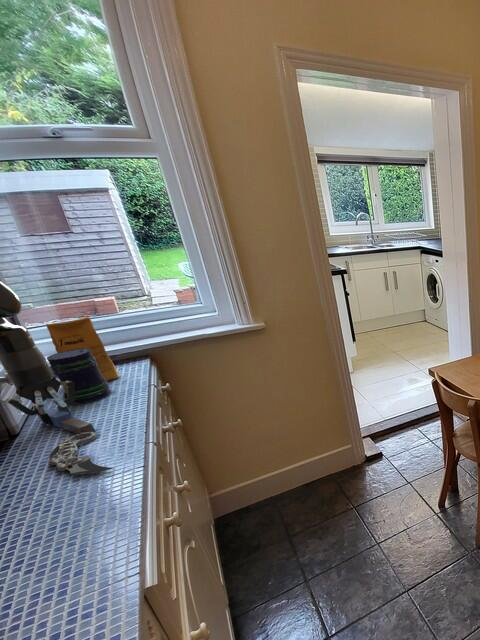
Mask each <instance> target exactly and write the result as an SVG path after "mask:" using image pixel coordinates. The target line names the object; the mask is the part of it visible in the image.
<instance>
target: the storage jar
mask: <svg viewBox="0 0 480 640" xmlns="http://www.w3.org/2000/svg"><path fill="white" fill-rule="evenodd" d="M46 361H47V362H49V363H48V365H49V366H50V369H51V371H52V372H53V374H54V376H55V377H57V379H58V380H59V381H71V382H74V383H75V387H74V401H73V402H70V404H72V405H83V404H88V403H93V402H96V401H99V400H101V399H104V398H106V397H109V396H110V395H112V391H111V389H110V387H109V383H108V381H107V382H106V379H105V378H104V377H103V376H102V375H101V373H100V371H99V369H98V363H97V362H96V359H95V357H94V356H93V354H92V353H91V350H90V349H87V348H83V349H74V350H69V351H64V352H60V353H57V352H56V353H53V354H50V355H48V356H46ZM62 390H63V391H64V388H62Z"/></svg>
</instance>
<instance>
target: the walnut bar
mask: <svg viewBox="0 0 480 640" xmlns="http://www.w3.org/2000/svg"><path fill="white" fill-rule="evenodd" d="M61 423H62V425H63V427H62V428H64V430H65V431H68V432H71V433H74V434H79V433H84V432H94V433H95V432H96V430H95V428H94V426H93V425H92V423H91V422H89V421H84V420H81V419H78V418H75V417H72V418H70V419H67V420H64V421H61Z"/></svg>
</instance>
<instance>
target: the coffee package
mask: <svg viewBox="0 0 480 640" xmlns="http://www.w3.org/2000/svg"><path fill="white" fill-rule="evenodd" d="M45 327H46V328H47V331H48V332H49V336H50V339H51V341H52V344H53V346H54V347H55V351H56V353H60V352H64V351H69V350H74V349H83V348H87V349H90V350H91V353H92V354H93V356H94V357H95V359H96V362H97V363H98V369H99V371H100V373H101V375H102V376H103V377H104V378H105V379H106V382H107V383H108V382H109V381H113V380H115V379H118V378H119V373H118V371H117V367H116V366H115V364H114V362H113V360H112V359H111V357H110V356H109V355H108V352H107V350H106V348H105V345H104V343H103V341H102V340H101V338H100V336H99V334H98V333H97V330H96V329H95V328H94V324H93V321H92V319H91V318H90V316H85V317H81V318H78V319H75V320H71V321H66V322H65V321H64V322H53V323H45Z"/></svg>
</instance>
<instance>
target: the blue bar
mask: <svg viewBox="0 0 480 640" xmlns="http://www.w3.org/2000/svg"><path fill="white" fill-rule="evenodd" d="M44 410H45V413H47V414H48V415H49V417H50V419H51V421H52V422H53V425H52V426H56V427H58V428H64V427H63V425H62V423H61V421H64V420H67V419H70V418H73V416H72V414H71V415H70V413H71V412H70V413H68V412H65V411H61V410H59V409H58V408H54V407H50V408H47V409H44Z"/></svg>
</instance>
